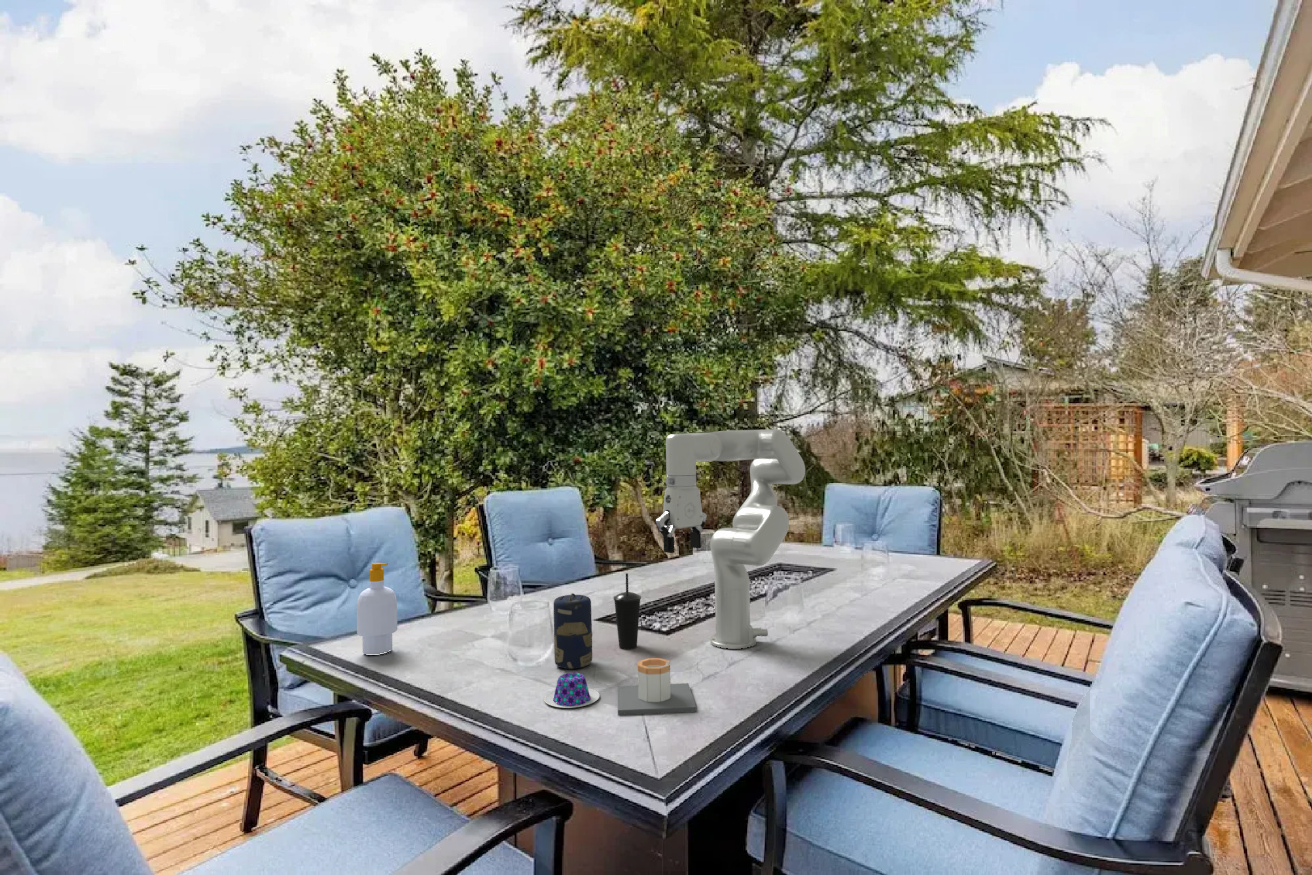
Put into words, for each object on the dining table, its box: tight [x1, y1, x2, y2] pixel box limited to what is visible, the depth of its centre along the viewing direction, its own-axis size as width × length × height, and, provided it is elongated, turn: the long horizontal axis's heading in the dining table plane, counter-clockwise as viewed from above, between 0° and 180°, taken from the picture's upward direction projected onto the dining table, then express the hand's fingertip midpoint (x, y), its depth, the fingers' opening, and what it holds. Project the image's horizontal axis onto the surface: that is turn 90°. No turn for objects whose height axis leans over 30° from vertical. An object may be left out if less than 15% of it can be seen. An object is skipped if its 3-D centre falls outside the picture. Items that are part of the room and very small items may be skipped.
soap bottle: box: [356, 562, 398, 655], centre depth 185 cm, size 10×10×24 cm
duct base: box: [617, 682, 697, 716], centre depth 146 cm, size 16×14×6 cm
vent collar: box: [637, 657, 671, 702], centre depth 146 cm, size 7×7×7 cm
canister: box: [553, 593, 593, 670], centre depth 171 cm, size 10×10×18 cm
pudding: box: [543, 672, 600, 709], centre depth 148 cm, size 12×12×5 cm
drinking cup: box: [612, 573, 642, 650], centre depth 186 cm, size 8×8×20 cm
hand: (682, 550), depth 172 cm, fingers open, 9 cm apart
